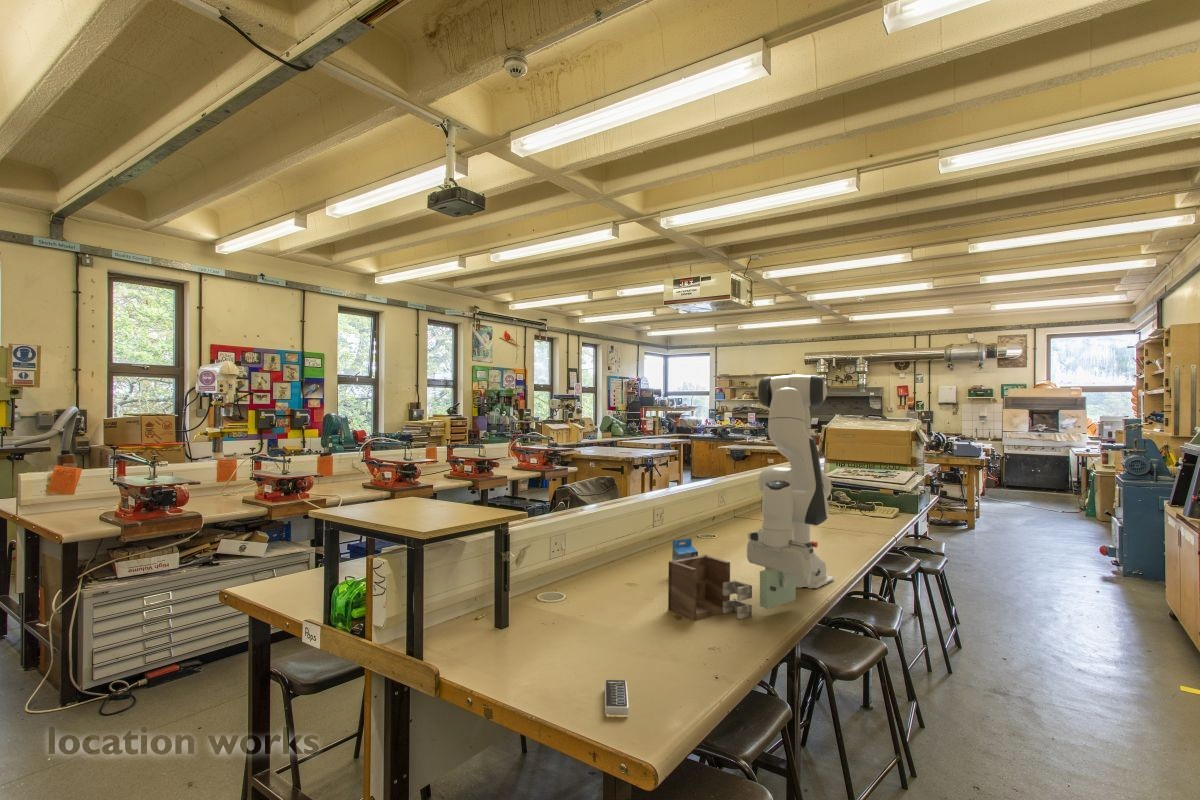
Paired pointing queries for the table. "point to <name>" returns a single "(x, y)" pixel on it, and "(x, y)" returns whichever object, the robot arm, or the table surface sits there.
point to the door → (775, 589)
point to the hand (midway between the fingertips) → (778, 585)
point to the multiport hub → (616, 697)
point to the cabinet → (705, 588)
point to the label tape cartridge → (683, 549)
